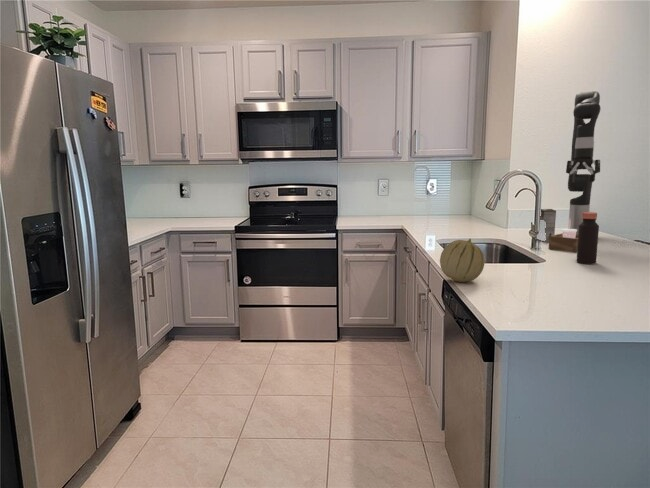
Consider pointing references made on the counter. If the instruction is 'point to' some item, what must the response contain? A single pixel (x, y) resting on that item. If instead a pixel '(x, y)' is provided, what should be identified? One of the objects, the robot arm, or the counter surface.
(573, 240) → the wooden square frame
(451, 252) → the cantaloupe
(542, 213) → the coffee box
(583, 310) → the counter surface
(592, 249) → the bottle
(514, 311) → the counter surface
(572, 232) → the beverage cup
